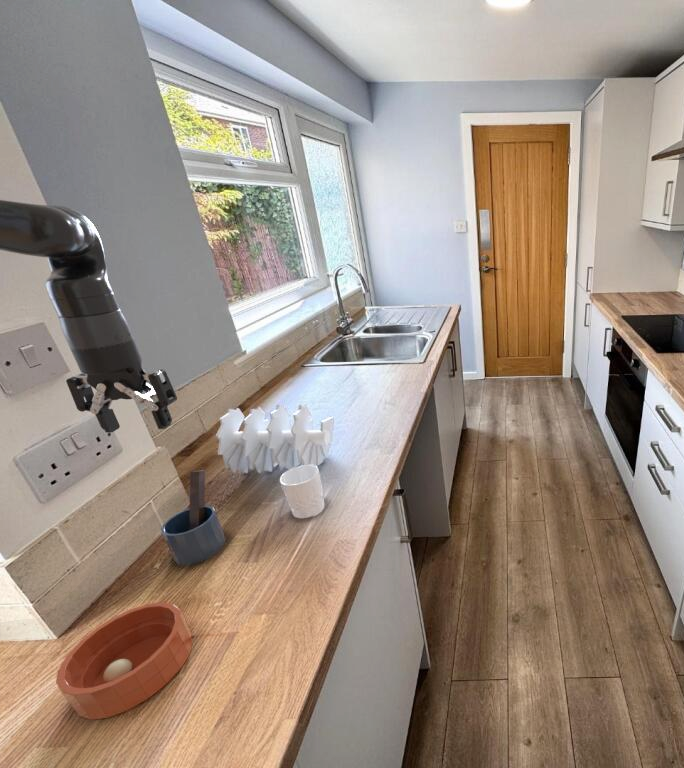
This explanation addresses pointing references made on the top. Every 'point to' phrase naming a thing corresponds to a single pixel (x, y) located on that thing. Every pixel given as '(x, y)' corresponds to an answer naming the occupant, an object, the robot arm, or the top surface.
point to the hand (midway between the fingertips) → (139, 428)
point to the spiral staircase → (272, 440)
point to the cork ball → (117, 669)
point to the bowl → (125, 641)
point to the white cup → (303, 490)
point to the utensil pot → (193, 537)
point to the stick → (197, 499)
